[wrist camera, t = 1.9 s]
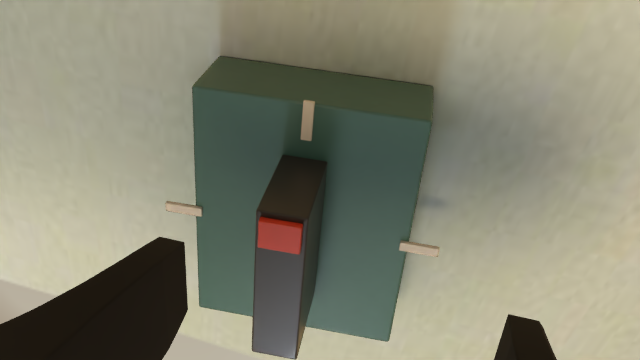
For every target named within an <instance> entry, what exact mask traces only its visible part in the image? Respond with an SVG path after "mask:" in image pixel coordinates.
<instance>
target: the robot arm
mask: <svg viewBox="0 0 640 360" xmlns="http://www.w3.org/2000/svg"><path fill="white" fill-rule="evenodd" d="M187 310H188V305H187V286H186V266H185V246H184V242H181V241H176V240H172V239H167V238H163V237H159V238H157V239H155V240H153V241H151V242H150V243H148V244H146V245H145V246H143V247H142V248H140V249H138V250H137V251H135V252H133V253H132V254H130V255H129V256H127V257H125V258H124V259H122V260H120V261H119V262H117V263H116V264H114V265H112V266H111V267H109V268H107V269H105V270H104V271H102V272H100V273H99V274H97V275H95V276H94V277H92V278H90V279H89V280H87V281H85V282H84V283H82V284H80V285H78V286H76V287H74V288H73V289H71V290H69V291H67V292H65V293H63V294H61V295H60V296H58V297H56V298H54V299H52V300H50V301H48V302H47V303H45V304H43V305H41V306H39V307H37V308H35V309H33V310H31V311H29V312H27V313H25V314H23V315H21V316H18V317H16V318H14V319H11V320H10V321H7V322H5V323H2V324H0V360H162V359H163V357H164V355H165V354H166V353H167V351H168V349H169V348H170V345H171V344H172V341H173V340H174V338H175V336H176V334H177V332H178V330H179V327H180V325H181V323H182V321H183V319H184V317H185V315H186V312H187ZM494 360H557V359H556V357H555V355H554V353H553V350H552V348H551V346H550V343H549V341H548V339H547V336H546V334H545V331H544V329H543V326H542V325H541V324H540V322H539V321H536V320H532V319H527V318H523V317H518V316H514V315H509V314H508V317H507V320H506V323H505V326H504V330H503V333H502V336H501V339H500V342H499V346H498V349H497V352H496V355H495V358H494Z"/></svg>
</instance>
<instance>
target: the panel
mask: <svg viewBox="0 0 640 360" xmlns="http://www.w3.org/2000/svg"><path fill="white" fill-rule="evenodd" d="M192 95H193V126H194V157H195V188H196V206H194V205H188V204H182V203H177V202H171V201H167V202H166V211H171V212H177V213H183V214H188V215H194V216H196V219H197V250H198V281H199V306H200V307H204V308H209V309H215V310H220V311H225V312H231V313H236V314H241V315H247V316H252V317H253V295H254V263H255V230H256V210H257V208H258V205H259V203H260V201H261V199H262V197H263V195H264V193H265V190H266V188H267V186H268V184H269V182H270V180H271V178H272V176H273V173H274V171H275V169H276V167H277V165H278V163H279V161H280V158H281V156H282V155H289V156H295V157H302V158H308V159H315V160H321V161H326V162H327V173H326V183H325V193H324V203H323V213H322V223H321V233H320V243H319V253H318V262H317V272H316V282H315V292H314V296H313V300H312V304H311V307H310V311H309V315H308V319H307V322H306V327H311V328H316V329H322V330H327V331H333V332H338V333H343V334H349V335H354V336H359V337H365V338H370V339H375V340H381V341H386V342H387V341H389V338H390V333H391V328H392V323H393V318H394V313H395V308H396V303H397V298H398V293H399V288H400V283H401V278H402V273H403V268H404V263H405V258H406V253H407V252H411V253H417V254H423V255H429V256H434V257H438V253H439V247H437V246H431V245H425V244H419V243H413V242H409V237H410V232H411V227H412V222H413V217H414V212H415V207H416V202H417V197H418V192H419V187H420V182H421V177H422V172H423V167H424V162H425V157H426V152H427V147H428V141H429V136H430V131H431V126H432V115H433V87H432V86H426V85H419V84H412V83H405V82H398V81H391V80H384V79H377V78H370V77H363V76H356V75H349V74H342V73H335V72H328V71H321V70H314V69H307V68H299V67H292V66H285V65H278V64H271V63H264V62H257V61H250V60H243V59H236V58H229V57H222V56H220V57H218V59H217V60H216V61H215V62H214V63H213V64H212V65H211V66H210V67H209V68H208V70H207V71H206V72H205V73H204V74H203V75H202V76H201V77H200V78H199V79H198V81H197V82H196V83H195V84H194V85H193V87H192Z"/></svg>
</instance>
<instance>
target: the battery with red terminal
mask: <svg viewBox="0 0 640 360" xmlns="http://www.w3.org/2000/svg"><path fill="white" fill-rule="evenodd" d="M326 173H327V162H326V161H321V160H315V159H308V158H302V157H295V156H289V155H282V156H281V158H280V161H279V163H278V165H277V167H276V169H275V171H274V173H273V176H272V178H271V180H270V182H269V184H268V186H267V188H266V190H265V193H264V195H263V197H262V199H261V201H260V203H259V205H258V208H257V210H256V230H255V263H254V295H253V328H252V351H253V352H259V353H264V354H269V355H274V356H279V357H285V358H290V359H296V358H297V356H298V352H299V348H300V345H301V341H302V337H303V334H304V330H305V326H306V322H307V319H308V315H309V311H310V307H311V304H312V300H313V296H314V292H315V282H316V272H317V262H318V253H319V243H320V233H321V223H322V213H323V203H324V193H325V183H326Z"/></svg>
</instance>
